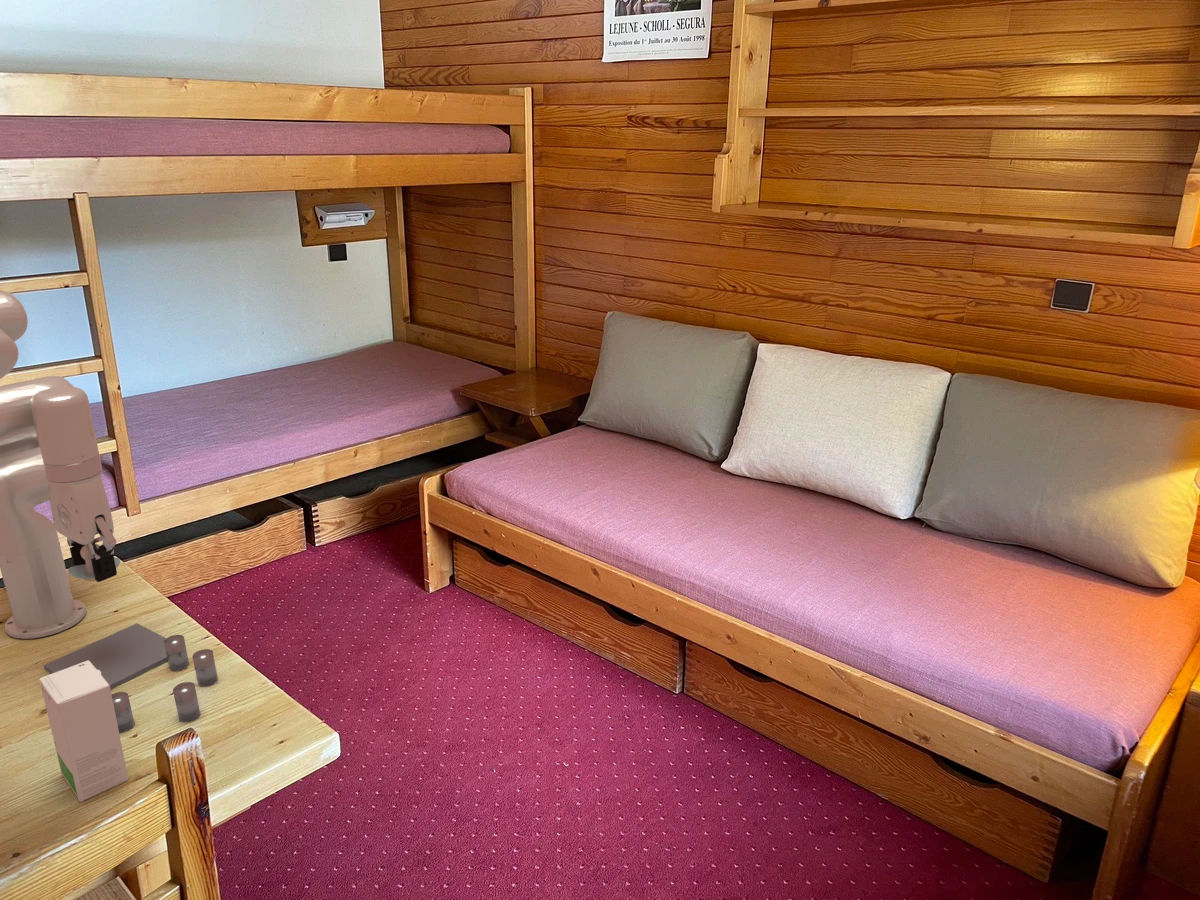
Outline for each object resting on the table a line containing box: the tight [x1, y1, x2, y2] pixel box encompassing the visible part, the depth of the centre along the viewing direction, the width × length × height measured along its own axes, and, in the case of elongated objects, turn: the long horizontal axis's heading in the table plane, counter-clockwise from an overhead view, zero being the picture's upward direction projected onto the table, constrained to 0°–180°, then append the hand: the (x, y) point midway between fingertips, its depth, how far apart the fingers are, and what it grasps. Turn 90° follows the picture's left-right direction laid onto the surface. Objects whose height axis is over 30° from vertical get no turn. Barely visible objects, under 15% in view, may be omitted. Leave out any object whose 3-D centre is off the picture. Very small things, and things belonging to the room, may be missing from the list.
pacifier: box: [67, 543, 121, 582], centre depth 146 cm, size 7×6×6 cm
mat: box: [42, 622, 168, 690], centre depth 152 cm, size 15×16×1 cm
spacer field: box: [111, 634, 219, 734], centre depth 140 cm, size 17×17×5 cm
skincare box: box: [38, 660, 129, 803], centre depth 122 cm, size 8×7×16 cm
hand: (95, 571), depth 146 cm, fingers closed on pacifier, 5 cm apart
